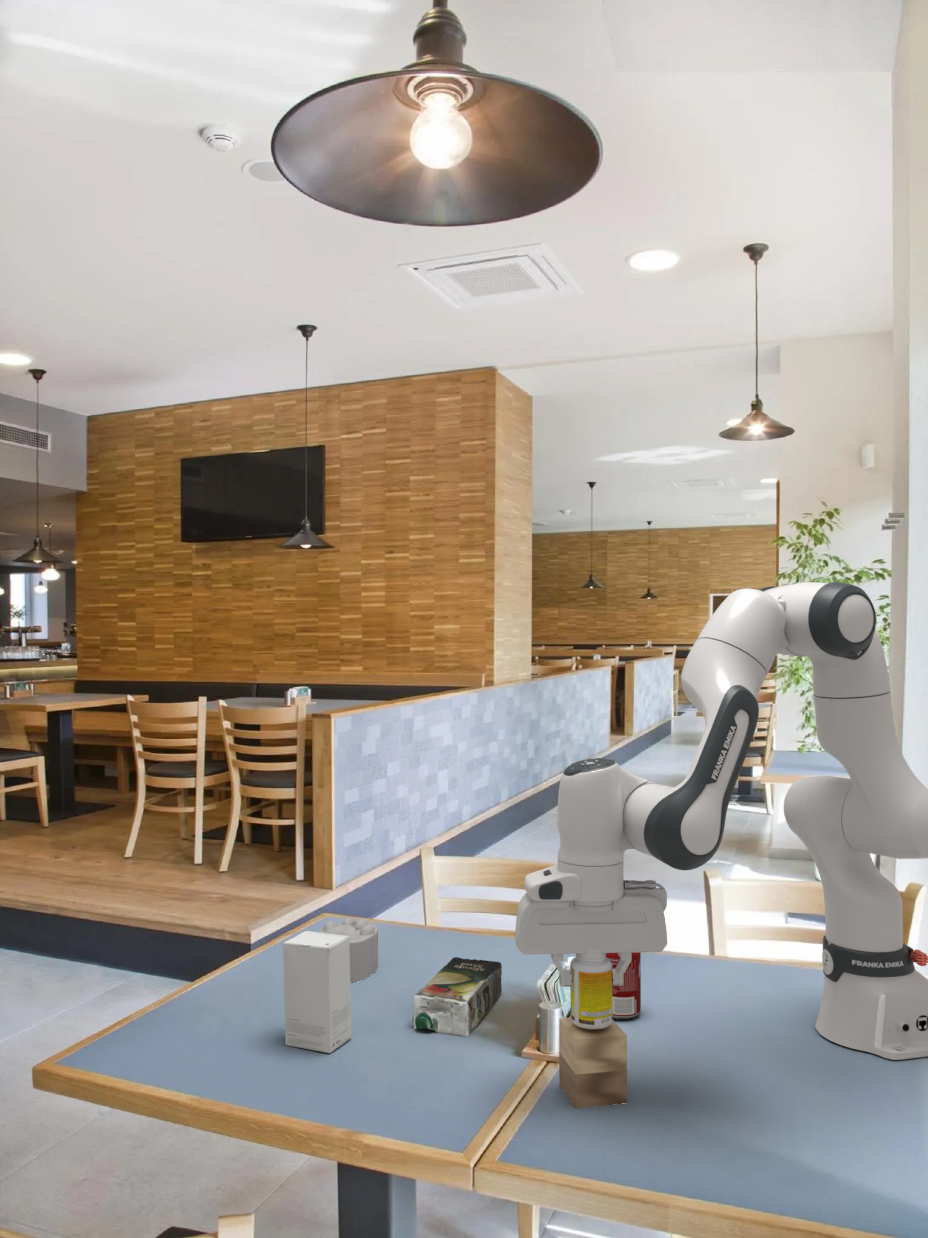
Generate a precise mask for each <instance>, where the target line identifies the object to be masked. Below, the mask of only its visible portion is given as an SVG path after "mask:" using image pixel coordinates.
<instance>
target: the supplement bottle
mask: <svg viewBox="0 0 928 1238" xmlns="http://www.w3.org/2000/svg"><path fill="white" fill-rule="evenodd" d="M569 967H570V968H569V970H570V972H571V973H572V980H571V981H572V987H569V988H570V989H569V990H570V995H569V996H570V1018H571V1020H572V1022H573V1023H574V1024H575V1025H577V1026H578V1027H581V1028H585V1029H602V1028H605V1027H608V1026H609V1025H610V1024H611V1023H612V1020H613V1019H612V1015H613V1014H612V964H611V962H610V960H608V959H607V958H606V953H600V952H599V951H598V950H590V951H588V952H587V953H580V954H575V957H573V958H572V959H571V961H570V965H569Z"/></svg>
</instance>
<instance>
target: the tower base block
mask: <svg viewBox="0 0 928 1238" xmlns="http://www.w3.org/2000/svg"><path fill="white" fill-rule="evenodd" d="M558 1053H559V1055H558V1062H559V1063H558V1066H559V1067H558V1069H559V1070H558V1071H559V1072H558V1073H559V1074H558V1080H559V1081H558V1083H559V1084H558V1085H559V1086H560V1088H561V1089H562V1091H563V1090H564V1091H563V1092H564V1093H565V1095H566V1096H567V1098H568V1099H569V1101H570V1102H571V1101H572V1102H571V1104H572V1103H573V1104H572V1105H573V1106H574V1108H575V1107H576V1108H575V1109H578V1108H579V1109H584V1108H583V1107H590V1108H595V1107H594V1106H599V1107H607V1106H606V1105H609V1106H614V1105H613V1104H618V1105H623V1104H622V1103H627V1104H628V1069H627V1070H622V1071H611V1072H599V1073H588V1074H577V1075H576V1074H575V1073H574V1072H573V1070H572V1069H571V1068H570V1066H569V1065H568V1063H567V1062H566V1061H565V1059H564V1058H563V1056H562V1055H561V1054H560V1052H559V1051H558ZM579 1109H578V1110H579Z"/></svg>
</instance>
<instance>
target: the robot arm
mask: <svg viewBox="0 0 928 1238" xmlns="http://www.w3.org/2000/svg"><path fill="white" fill-rule="evenodd" d="M875 609H876V608H875V607H874V604H873V602H872V600H871V598H870V597H869V595H868V594H867V593H866V592H865V590H864V589H862V588H861V587H859V586H857V585H854V584H851V583H847V582H841V581H832V582H831V581H830V582H822V581H821V582H818V581H817V582H815V581H814V582H813V581H806V582H805V581H804V582H802V581H801V582H796V583H792V584H784V585H780V586H767V587H764V588H760V589H755V588H750V587H748V588H740V589H737V590H735V591H733V592H731V593H729V595H727V597H726V598H725V599H724V600H723V601H722V602H721V603H720V605H719V606H718V607H717V608H716V609H715V611H714V612H713V613H712V614H711V616H710V617H709V619H708V620H707V622H706V624H705V625H704V626H703V628H702V630H701V631H700V633H699V635H698V636H697V638H696V640H695V642H694V643H693V645H692V647H691V649H690V651H689V652H688V655H687V656H686V658H685V661H684V664H683V667H682V671H681V674H680V681H681V686H682V689H683V692H684V695H685V697H686V698H687V700H688V701H689V702H690V704H691V705H692V706H693V707H695V708H696V709H697V710H698V711H699V712H700V713H701V714H702V715H703V718H704V732H703V734H702V737H701V739H700V742H699V744H698V746H697V750H696V752H695V754H694V758H693V760H692V762H691V764H690V766H689V769H688V771H687V772H688V773H686V777H685V778H684V780H683V781H682V782H681V783H678V784H677V785H676V786H674V787H673V786H670V785H669V786H668V785H665V784H662V783H660V782H655V781H651V780H649V779H646V778H643V777H641V776H638V775H636V774H634V773H632V772H631V771H628V770H627V769H625V768H624V767H622V766H620V765H619V763H617V761H616V760H614V759H611V758H608V757H607V758H606V757H605V758H604V757H597V758H586V759H581V760H579V761H575V762H573V763H570V764H569V765H568V766H567V767H566V768H565V769H564V770H563V772H562V774H561V777H560V780H559V787H558V795H557V830H558V833H559V838H560V841H559V842H560V843H559V844H560V845H559V848H558V852H557V863H556V864H553V865H551V866H547V867H545V868H542V869H539V870H536V871H534V872H529V873H528V874H526V876H525V877H524V889H525V892H526V893H525V894H523V896H522V897H521V898H520V901H519V902H518V907H517V912H516V919H515V928H514V929H515V932H514V933H515V934H514V937H515V938H514V940H515V941H514V942H515V946H516V948H517V949H518V950H519V951H520V953H521V954H522V955H526V956H527V955H550V958H551V960H552V963H553V964H554V966H555V968H556V969H557V971H558V976H559V977H558V979H559V980H558V981H559V985H560V988H564V987H565V988H568V987H569V988H570V987H572V981H571V980H572V973H571V972H570V969H564V967H563V965H562V962H564V959H565V958H564V955H565V954H566V955H572V954H573V955H574V954H575V955H576V954H580V953H587V952H588V951H590V950H598V951H599V952H600V953H618V955H619V957H620V958H621V959H620V961H619V963H618V965H617V967H616V969H612V986H623V973H625V971H626V969H627V967H628V966H629V964H630V962H631V961H632V953H634V952H641V953H661V952H663V951H664V949H665V948H666V947H667V946H668V933H667V932H668V930H667V924H666V918H665V913H664V912H665V911H666V909H667V905H668V892H667V890H666V887H664V886H663V885H662V884H660V883H658V882H656V880H654V879H646V880H635V879H631V880H630V879H629V880H627V879H626V880H625V879H624V869H625V868H624V865H625V864H624V862H625V861H624V855H625V852H626V851H627V850H636V851H638V852H639V853H642V854H644V855H647V856H650V857H653V858H655V859H657V860H658V861H660V862H662V863H664V864H665V865H667V866H669V867H671V868H672V869H675V870H678V871H692V870H695V869H698V868H700V867H702V866H704V865H705V864H707V863H708V861H710V860H711V859H712V858H713V857H714V855H715V854H716V853H717V851H718V849H719V847H720V845H721V843H722V839H723V837H724V831H725V825H726V819H727V812H728V808H729V804H730V800H731V798H732V795H733V792H734V789H735V788H736V787H735V786H736V784H737V782H738V779H739V776H740V773H741V771H742V769H743V765H744V763H745V760H746V758H747V754H748V752H749V749H750V746H751V743H752V741H753V737H754V735H755V732H756V727H757V724H758V720H759V717H760V715H759V713H760V708H759V703H758V698H759V694H760V691H761V688H762V686H763V683H764V682H765V680H766V677H767V676H768V675H769V672H770V669H771V668H772V666H773V664H774V660H775V658H776V656H777V655H783V656H790V657H791V656H792V657H808V658H809V660H810V663H811V664H812V689H813V703H814V712H815V723H816V724H815V725H816V736H817V740H818V742H819V745H820V746H821V748H822V750H824V751H825V752H826V753H827V754H829V755H830V756H831V757H833V758H835V759H836V760H837V761H839V763H840V764H841V765H842V767H843V768H844V770H845V771H846V773H847V774H848V776H849V778H848V777H841V776H840V777H839V776H832V775H821V776H810V777H801V778H799V779H797V780H795V781H794V782H793V783H792V784H791V785H790V787H789V788H788V790H787V792H786V794H785V796H784V800H783V814H784V815H783V816H784V818H785V822H786V824H787V826H788V827H789V829H790V830H791V831H792V832H793V834H795V835H796V836H797V837H798V839H800V841H801V842H802V843H803V845H804V846H805V848H806V849H807V850H808V852H809V854H810V856H811V857H812V860H813V862H814V865H815V866H816V868H817V871H818V872H817V873H818V874H819V877H820V881H821V885H822V886H821V887H822V890H823V901H824V903H823V904H824V916H825V935H824V936H823V937H822V954H821V956H822V957H821V958H822V959H821V960H822V962H821V963H822V973H823V974H824V980H823V989H822V997H821V1004H820V1008H819V1011H818V1016H817V1019H816V1022H815V1030H816V1032H817V1033H818V1034H819V1035H820V1036H822V1037H823V1038H825V1039H826V1040H829V1041H831V1042H833V1043H835V1044H837V1045H840V1046H842V1047H843V1046H844V1047H846V1048H849V1049H854V1050H857V1051H863V1052H867V1053H870V1054H874V1055H877V1056H880V1057H881V1058H884V1059H887V1060H888V1059H889V1060H892V1061H901V1060H908V1059H915V1058H916V1059H917V1058H925V1057H928V978H926V977H925V976H924V975H923V974H922V973H920V971H918V970H916V967H915V965H914V964H916V965H918V966H920V967H926V966H928V954H926V953H925V952H923V951H921V950H920V949H914V948H912V947H910V946H909V945H907V944H905V943H904V928H903V926H904V924H903V923H904V920H903V919H904V917H903V916H904V915H903V909H904V908H903V898H902V895H901V893H900V891H899V890H898V888H897V887H896V886H895V884H893V883H892V882H891V881H890V880H889V879H888V878H886V877H885V876H884V875H883V874H882V873H881V872H880V871H879V870H878V868H877V867H876V865H875V863H874V862H873V859H872V855H871V854H873V855H878V856H883V857H887V858H894V859H898V860H919V859H928V788H927V787H926V786H925V785H924V784H923V783H922V782H921V780H920V779H918V776H916V774H915V773H914V772H913V771H912V769H911V767H910V766H909V764H908V763H907V761H906V759H905V757H904V755H903V753H902V750H901V747H900V744H899V743H898V739H897V734H896V727H895V726H896V725H895V720H894V714H893V705H892V696H891V685H890V677H889V671H888V670H889V669H888V665H887V661H886V656H885V652H884V649H883V645H882V642H881V638H880V635H879V634H878V632H877V631H876V628H877V615H876V610H875Z"/></svg>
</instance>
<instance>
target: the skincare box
mask: <svg viewBox="0 0 928 1238" xmlns="http://www.w3.org/2000/svg"><path fill="white" fill-rule="evenodd" d="M319 932H320V931H310V930H305V931H303V932H301V933H299V934H297V935H296V936H294V937H292V938H290V939H287V940H285V941H283V943H282V945H283V949H282V950H283V955H282V956H283V982H284V983H283V987H284V988H283V989H284V991H283V992H284V994H283V995H284V998H283V999H284V1029H285V1030H284V1031H285V1032H284V1033H285V1037H284V1038H285V1039H284V1040H285V1043H284V1044H285V1046H289V1047H295V1048H299V1049H305V1050H310V1051H316V1052H321V1053H325V1054H331V1053H333V1052H334V1051H336V1050H337V1049H339V1048H340V1047H341V1046H343V1045H344V1044H345V1043H347V1042H348V1041H349V1040H351V1038H352V1037H353V1036H352V1034H353V1033H352V999H351V998H352V997H351V996H352V995H351V983H350V949H349V948H350V944H349V936H344V935H336V934H327V933H319Z"/></svg>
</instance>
